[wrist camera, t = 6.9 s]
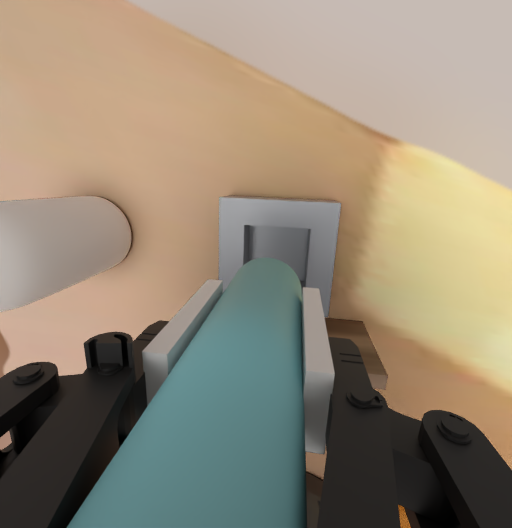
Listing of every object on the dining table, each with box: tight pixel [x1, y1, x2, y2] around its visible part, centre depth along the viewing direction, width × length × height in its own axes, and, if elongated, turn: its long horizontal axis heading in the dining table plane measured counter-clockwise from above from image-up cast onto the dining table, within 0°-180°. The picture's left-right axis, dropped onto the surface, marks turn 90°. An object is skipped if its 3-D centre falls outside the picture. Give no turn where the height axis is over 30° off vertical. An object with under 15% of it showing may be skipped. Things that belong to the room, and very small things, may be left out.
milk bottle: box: [0, 196, 131, 312], centre depth 22 cm, size 8×8×20 cm
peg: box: [67, 258, 307, 528], centre depth 11 cm, size 4×4×14 cm
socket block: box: [219, 195, 341, 317], centre depth 28 cm, size 10×10×4 cm
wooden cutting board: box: [325, 318, 388, 390], centre depth 27 cm, size 1×18×9 cm, turn 88°
